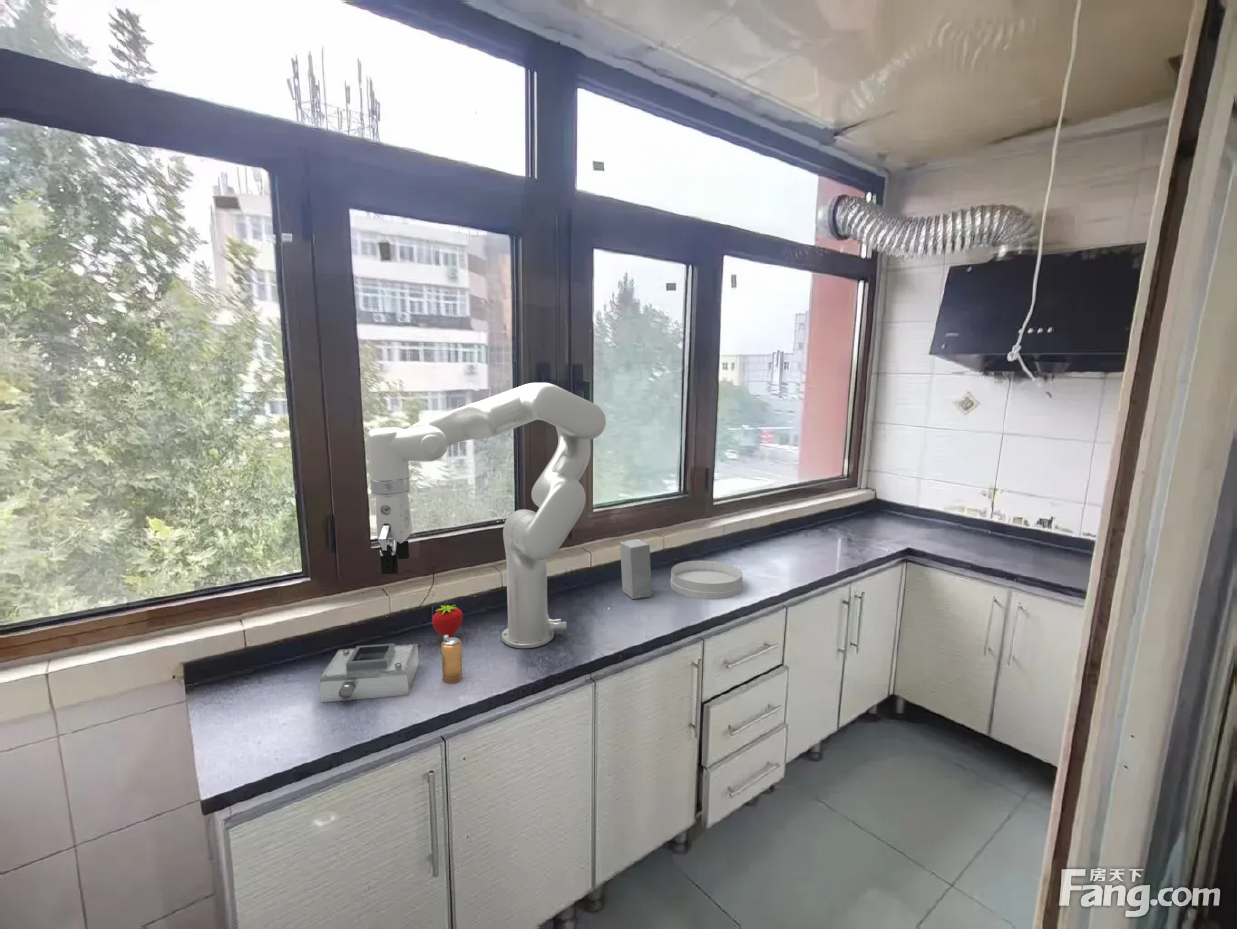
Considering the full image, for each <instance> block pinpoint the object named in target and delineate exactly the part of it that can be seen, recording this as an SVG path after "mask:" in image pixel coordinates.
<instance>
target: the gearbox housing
mask: <svg viewBox="0 0 1237 929" xmlns="http://www.w3.org/2000/svg"><path fill="white" fill-rule="evenodd" d="M418 647H419V646H418V643H413V644H412V643H411V644H401V645H400V644H399V645H397V644H395V643H383V644H370V645H369V644H368V645H367V644H366V645H356V647H355V648H343V649H341V648H340V649H338V651H337V652H336V653H335V655H334V656H333V658H332V660H331V661H330V663H328V666H327V667H326V668H325V670H324V671H323V673H322V674H321V676H320V677H319V684H320V685H319V686H320V696H321V698H320V699H321V700H320V701H321V703H331V702H339V701H340V702H341V701H352V700H354V701H355V700H365V699H375V698H378V699H379V698H387V697H398V696H399V697H400V696H409V693H410V691H411V688H412V685H413V682H414V680H415V676H416V673H417V671H418V667H419V666H420V664H419V648H418Z"/></svg>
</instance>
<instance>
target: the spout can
mask: <svg viewBox="0 0 1237 929" xmlns="http://www.w3.org/2000/svg"><path fill="white" fill-rule="evenodd" d="M440 646H441V647H440V648H441V666H442V667H441V670H442V681H443V683H445V684H457V683H458V682H461V681H462V680H463V676H464V674H463V652H462V650H463V649H462V646H463V645H462V640H461V639H460V638H458V637H454V636H452V637H451V638H449V635H444V638H443V641H441V644H440Z"/></svg>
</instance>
